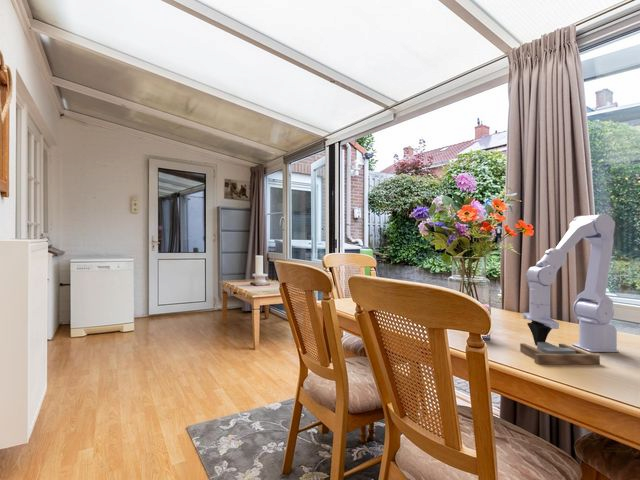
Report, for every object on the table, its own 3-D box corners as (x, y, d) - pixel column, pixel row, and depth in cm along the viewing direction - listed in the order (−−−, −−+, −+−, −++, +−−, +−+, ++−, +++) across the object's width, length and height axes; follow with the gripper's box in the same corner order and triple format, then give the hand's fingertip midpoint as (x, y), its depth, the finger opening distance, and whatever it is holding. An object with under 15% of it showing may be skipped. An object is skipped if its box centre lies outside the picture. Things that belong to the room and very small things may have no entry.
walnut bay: (569, 351, 109) (569, 343, 109) (599, 364, 98) (599, 355, 98) (514, 351, 109) (514, 343, 109) (537, 364, 97) (537, 355, 98)
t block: (554, 351, 109) (554, 341, 109) (575, 361, 100) (575, 350, 100) (529, 351, 109) (529, 341, 109) (548, 361, 100) (548, 350, 100)
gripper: (514, 299, 118) (514, 339, 117) (542, 307, 103) (542, 353, 103) (534, 300, 118) (534, 339, 118) (565, 308, 103) (565, 353, 103)
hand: (539, 345), depth 110 cm, fingers closed
